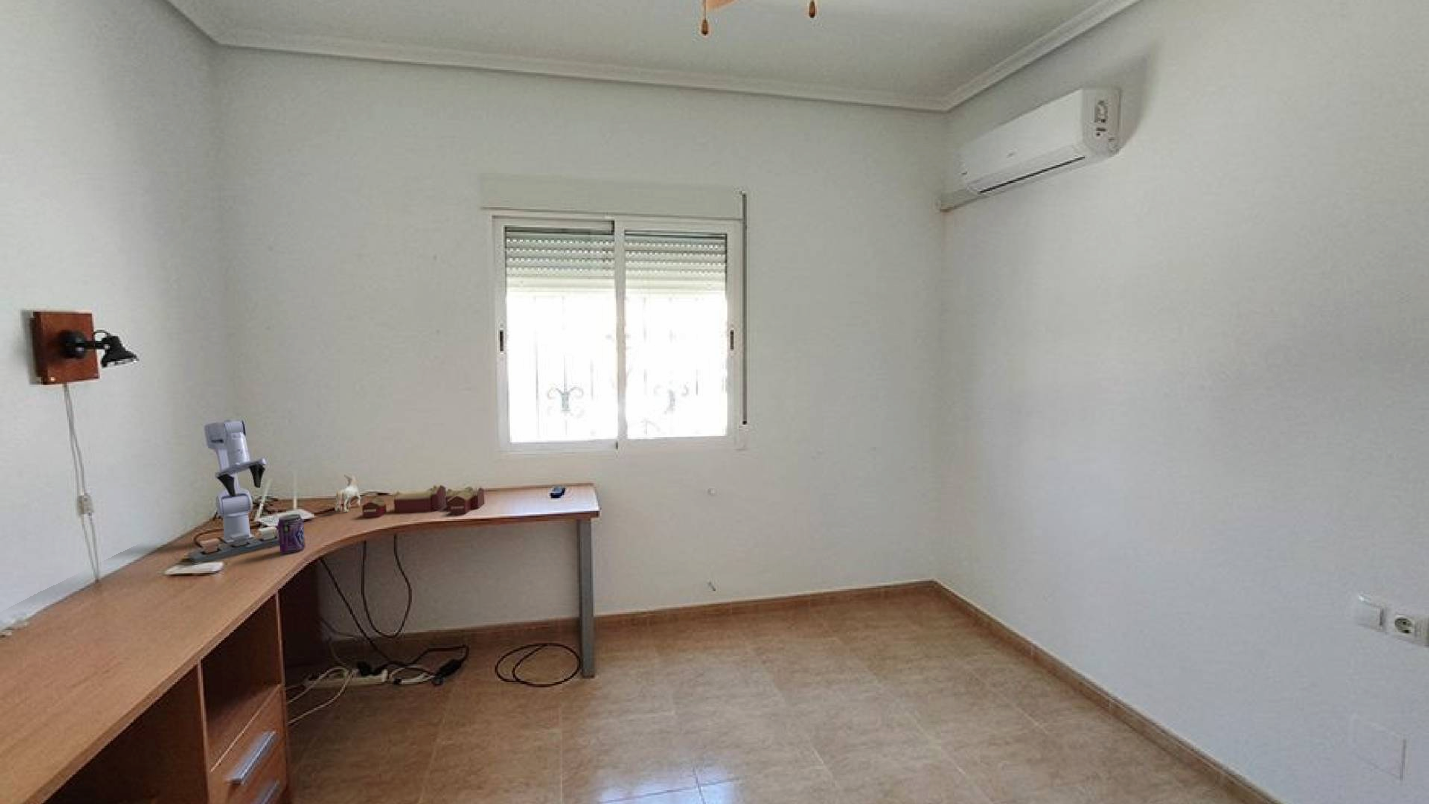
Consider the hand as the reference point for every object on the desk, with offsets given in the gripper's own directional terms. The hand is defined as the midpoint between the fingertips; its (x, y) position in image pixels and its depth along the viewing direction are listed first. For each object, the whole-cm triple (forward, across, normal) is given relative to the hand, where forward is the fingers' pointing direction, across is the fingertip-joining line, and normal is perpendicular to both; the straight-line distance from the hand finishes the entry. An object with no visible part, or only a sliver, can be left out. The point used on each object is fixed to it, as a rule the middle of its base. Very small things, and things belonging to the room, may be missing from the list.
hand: (245, 491), depth 202 cm
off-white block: (+13, -4, +18) cm, 22 cm away
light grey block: (+13, -11, +13) cm, 21 cm away
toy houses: (+15, +40, +49) cm, 65 cm away
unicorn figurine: (-1, +7, +60) cm, 60 cm away
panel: (+15, -11, +14) cm, 23 cm away
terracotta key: (+13, -17, +8) cm, 23 cm away
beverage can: (+23, +6, +9) cm, 25 cm away
